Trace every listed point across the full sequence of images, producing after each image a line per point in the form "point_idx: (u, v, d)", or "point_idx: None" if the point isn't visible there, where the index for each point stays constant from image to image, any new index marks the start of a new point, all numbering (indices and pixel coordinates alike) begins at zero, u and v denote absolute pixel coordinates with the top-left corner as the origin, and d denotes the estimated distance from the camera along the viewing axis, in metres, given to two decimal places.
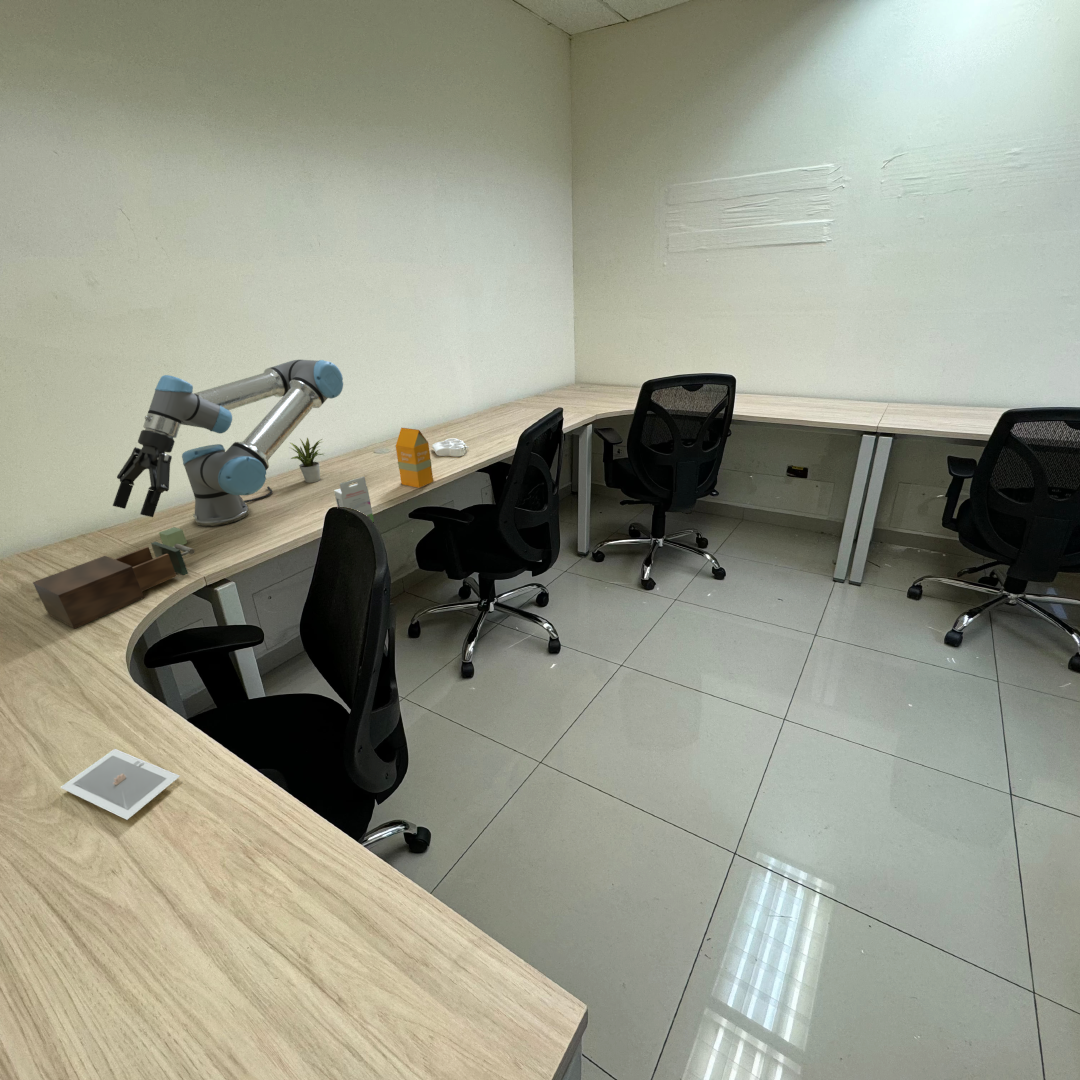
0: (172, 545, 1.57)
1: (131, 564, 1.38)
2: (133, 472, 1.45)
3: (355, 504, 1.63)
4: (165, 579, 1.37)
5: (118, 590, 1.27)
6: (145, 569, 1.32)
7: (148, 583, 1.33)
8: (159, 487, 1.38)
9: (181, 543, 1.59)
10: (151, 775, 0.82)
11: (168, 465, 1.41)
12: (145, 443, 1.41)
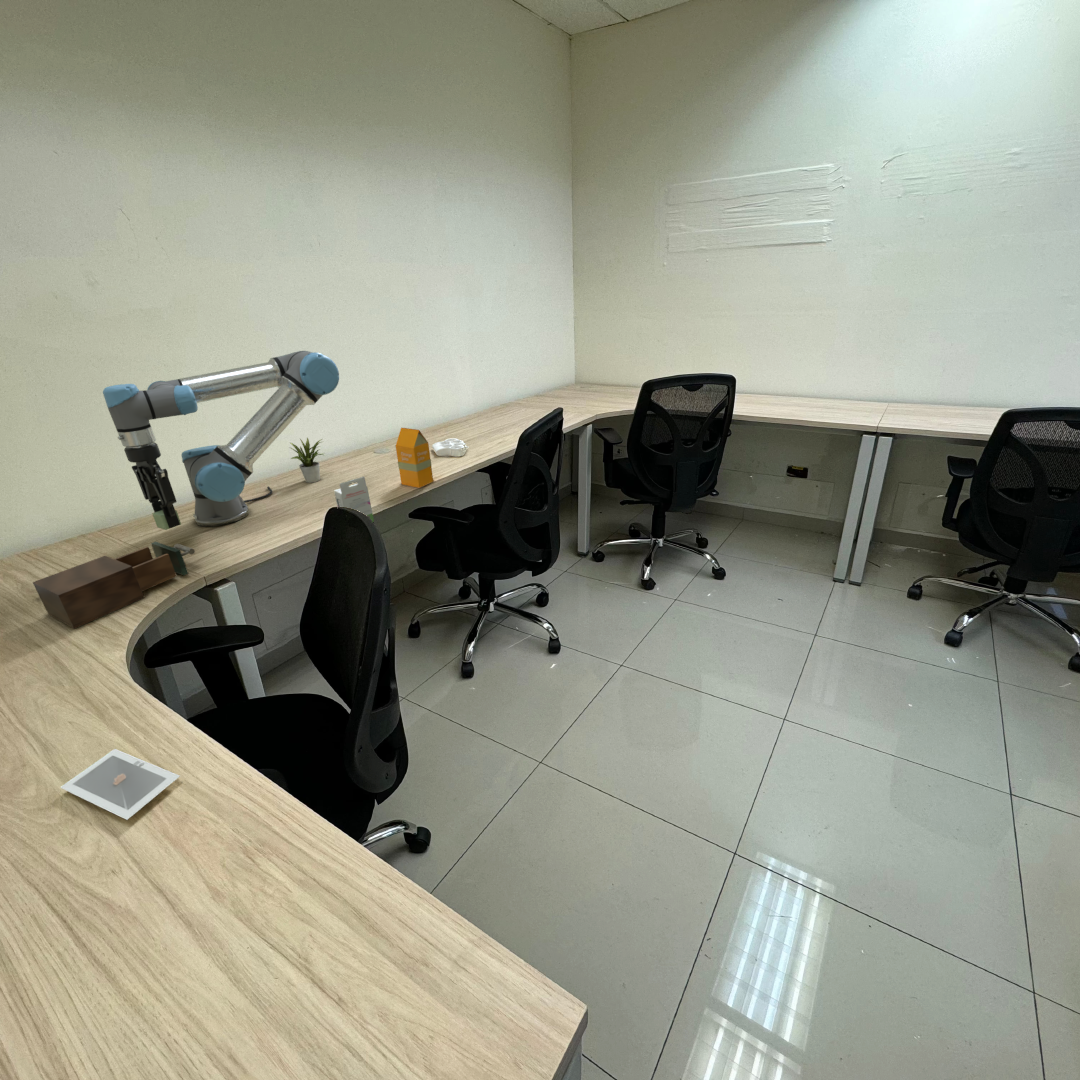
0: (166, 526, 1.54)
1: (131, 564, 1.38)
2: (150, 488, 1.53)
3: (355, 504, 1.63)
4: (165, 579, 1.37)
5: (118, 590, 1.27)
6: (145, 569, 1.32)
7: (148, 583, 1.33)
8: (167, 504, 1.50)
9: None
10: (151, 775, 0.82)
11: (166, 479, 1.48)
12: (135, 461, 1.45)
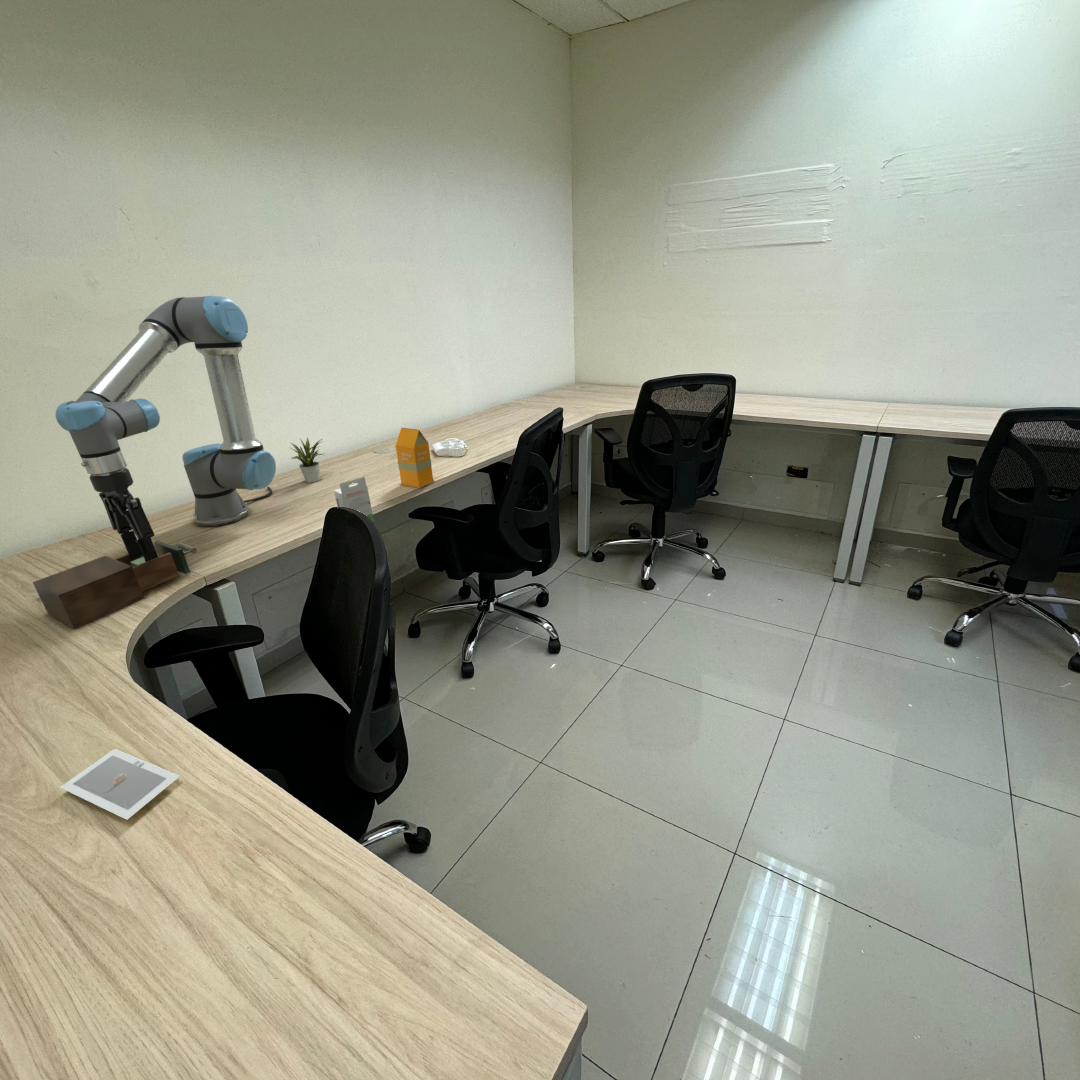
0: None
1: None
2: (120, 518, 1.33)
3: (355, 504, 1.63)
4: (168, 578, 1.37)
5: (118, 590, 1.27)
6: (147, 568, 1.33)
7: (151, 582, 1.34)
8: (144, 539, 1.29)
9: None
10: (151, 775, 0.82)
11: (140, 509, 1.28)
12: (103, 491, 1.25)
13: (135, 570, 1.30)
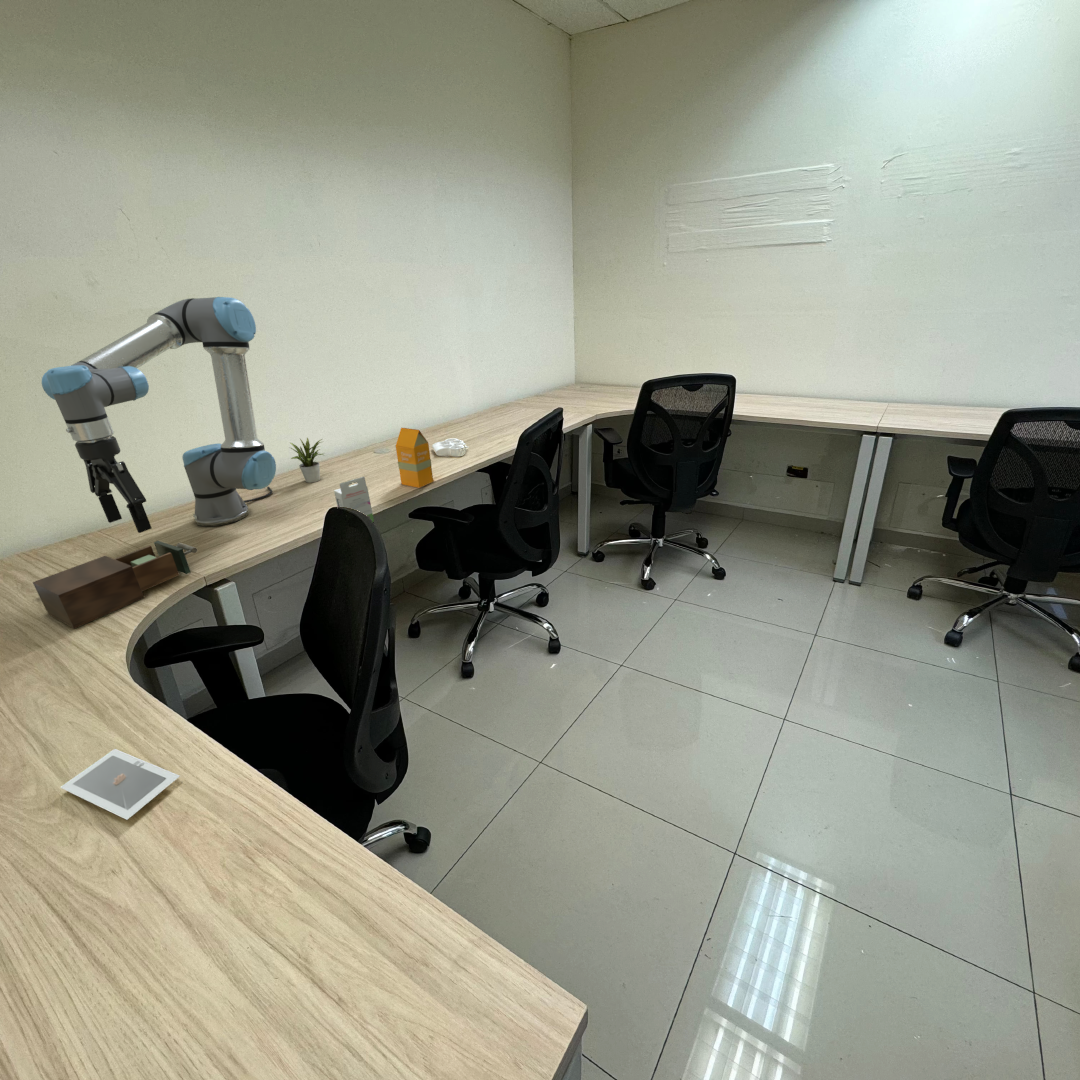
0: None
1: None
2: (101, 484, 1.30)
3: (355, 504, 1.63)
4: (168, 578, 1.37)
5: (118, 590, 1.27)
6: (147, 568, 1.33)
7: (151, 581, 1.34)
8: (135, 503, 1.23)
9: None
10: (151, 775, 0.82)
11: (127, 473, 1.23)
12: (89, 459, 1.21)
13: (135, 570, 1.30)
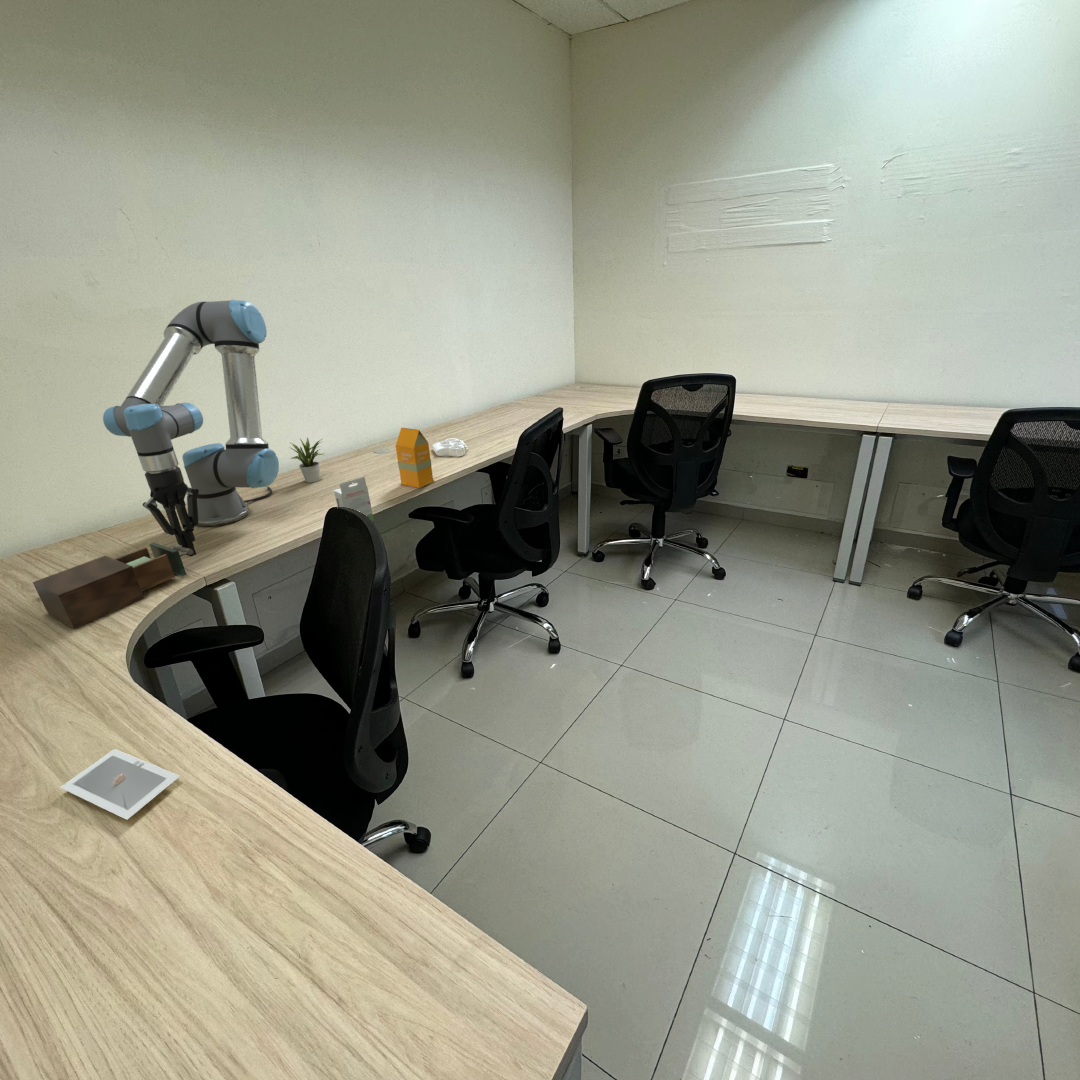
0: None
1: None
2: (179, 514, 1.42)
3: (355, 504, 1.63)
4: (163, 580, 1.36)
5: (118, 590, 1.27)
6: (143, 570, 1.32)
7: (146, 584, 1.33)
8: None
9: None
10: (151, 775, 0.82)
11: (154, 513, 1.36)
12: None
13: None
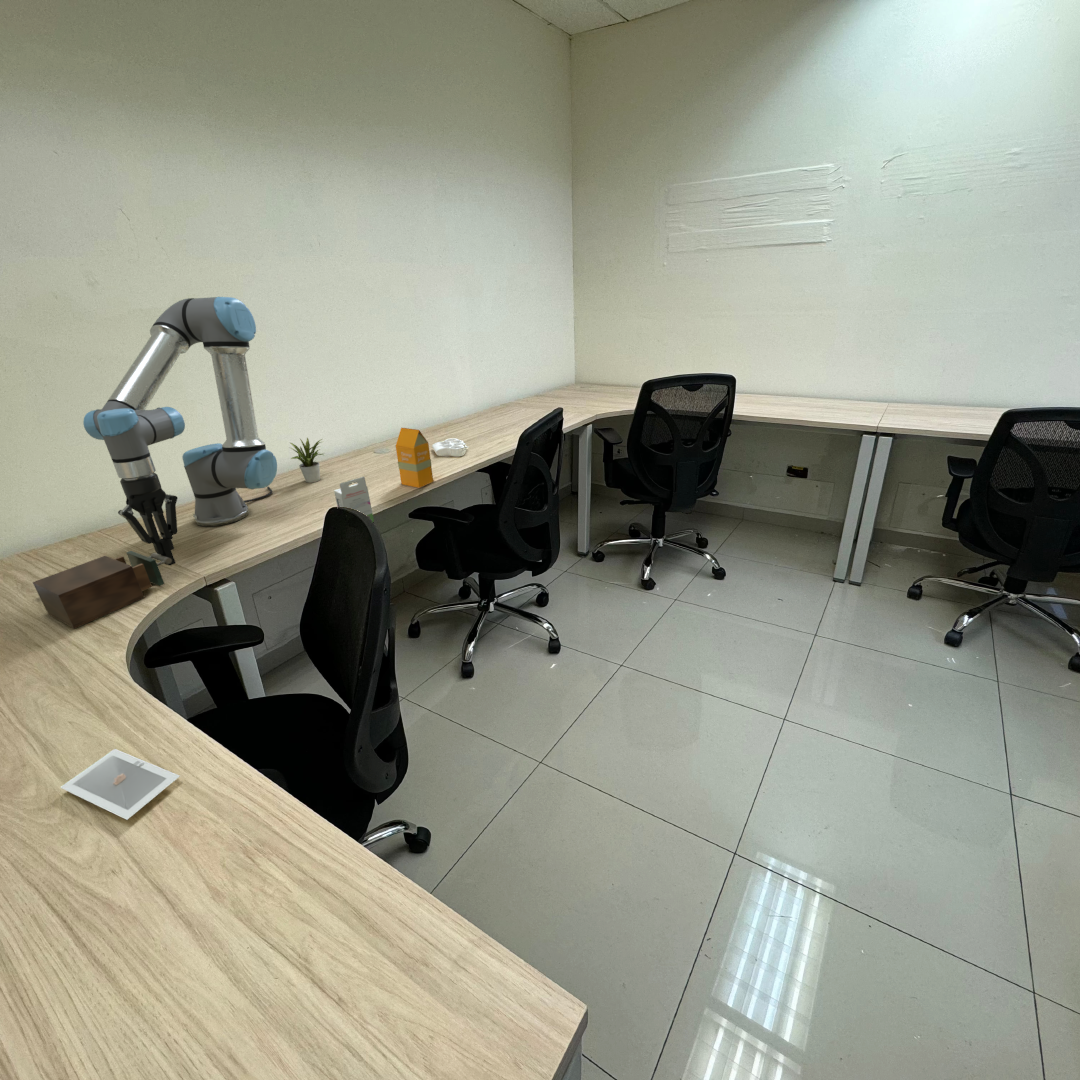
0: None
1: None
2: (157, 522, 1.38)
3: (355, 504, 1.63)
4: None
5: (118, 590, 1.27)
6: None
7: None
8: None
9: None
10: (151, 775, 0.82)
11: (130, 521, 1.31)
12: None
13: None
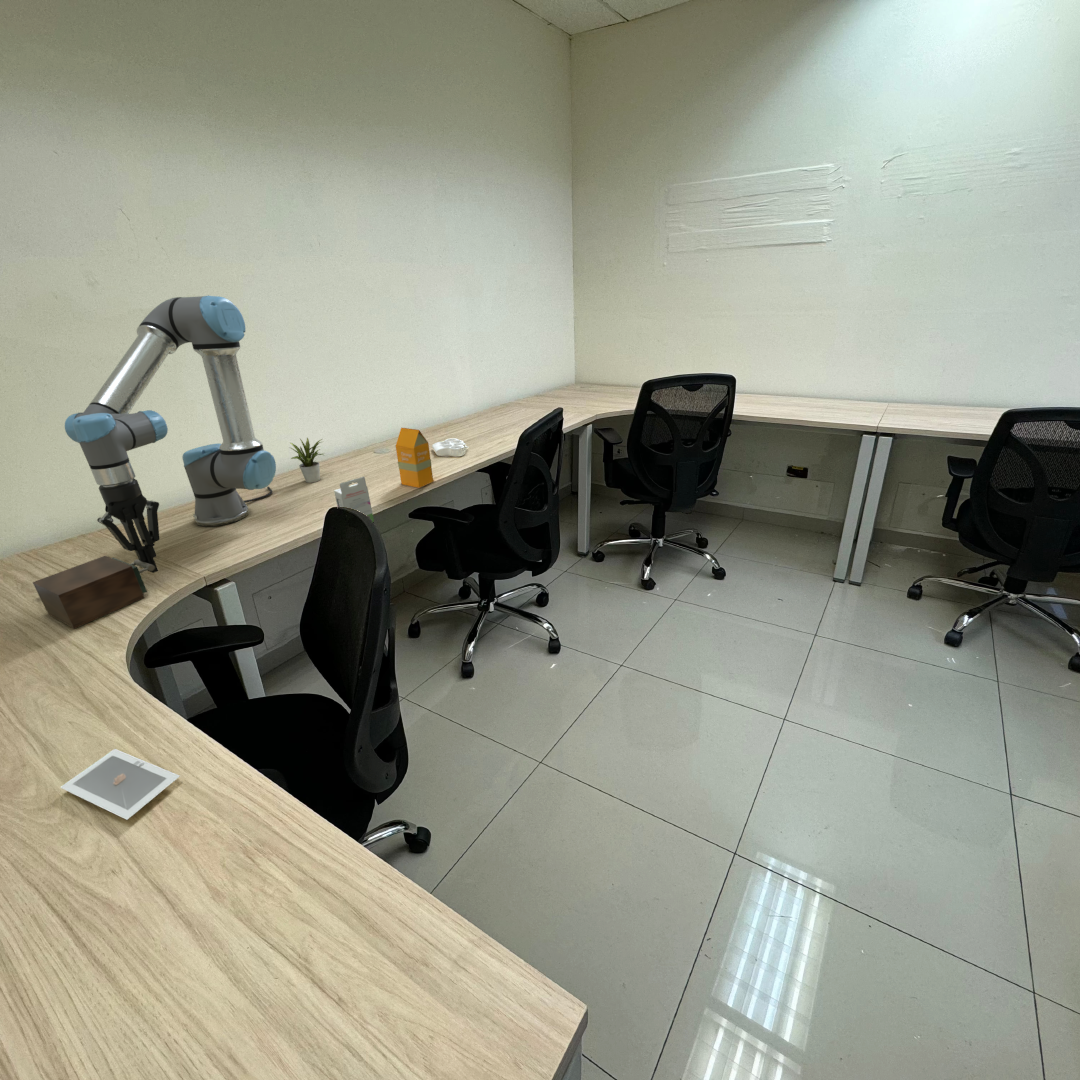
0: None
1: None
2: (138, 529, 1.34)
3: (355, 504, 1.63)
4: None
5: (118, 590, 1.27)
6: None
7: None
8: None
9: None
10: (151, 775, 0.82)
11: (110, 529, 1.28)
12: None
13: None
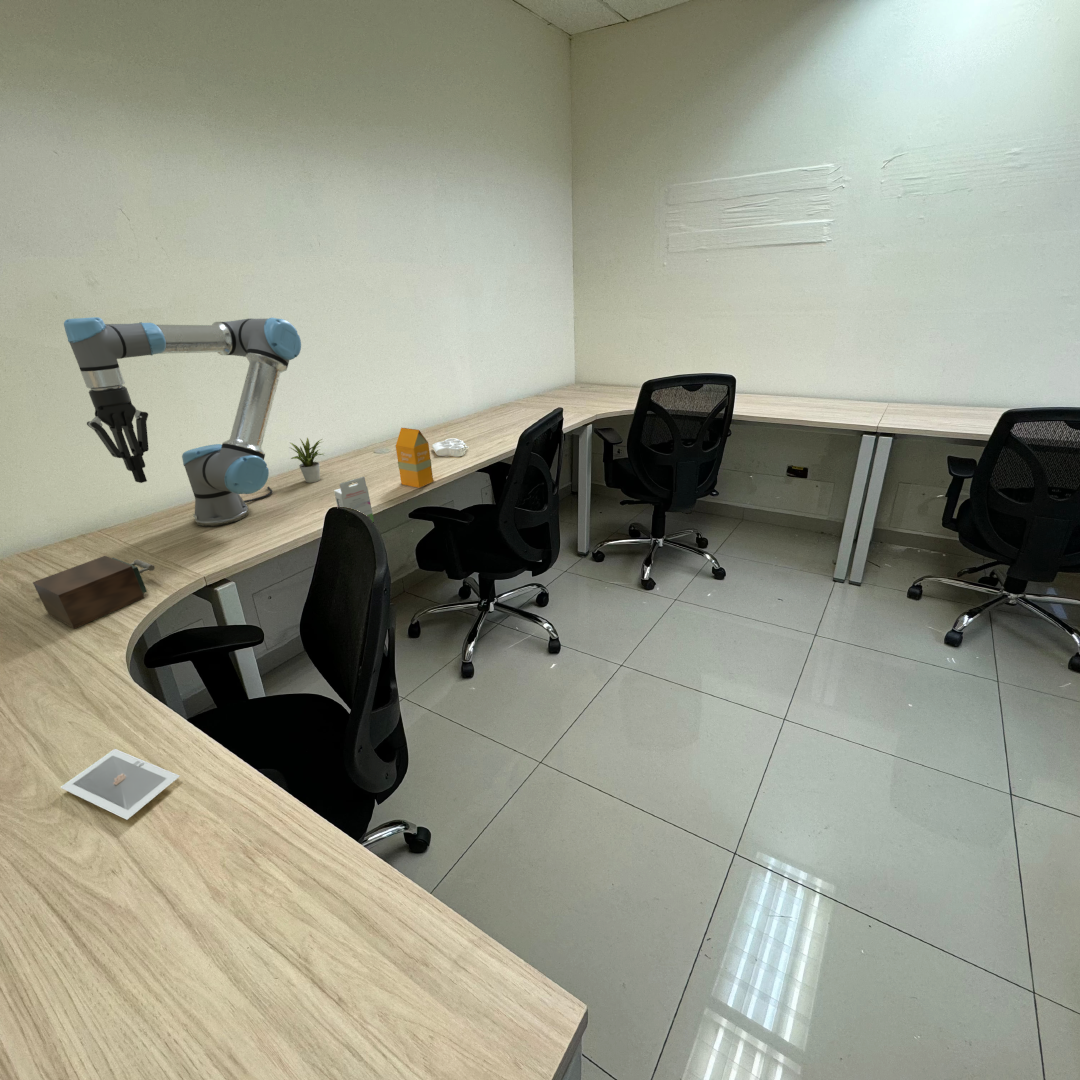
0: None
1: None
2: (127, 437, 1.37)
3: (355, 504, 1.63)
4: None
5: (118, 590, 1.27)
6: None
7: None
8: None
9: None
10: (151, 775, 0.82)
11: (99, 433, 1.31)
12: None
13: None
